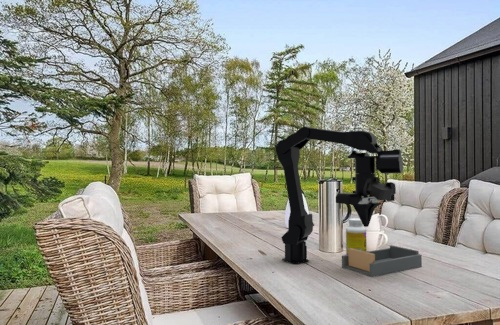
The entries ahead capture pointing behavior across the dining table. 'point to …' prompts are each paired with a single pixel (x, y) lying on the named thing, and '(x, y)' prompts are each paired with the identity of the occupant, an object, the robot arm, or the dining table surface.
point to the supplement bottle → (355, 235)
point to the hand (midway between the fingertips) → (366, 226)
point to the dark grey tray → (388, 261)
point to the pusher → (360, 259)
